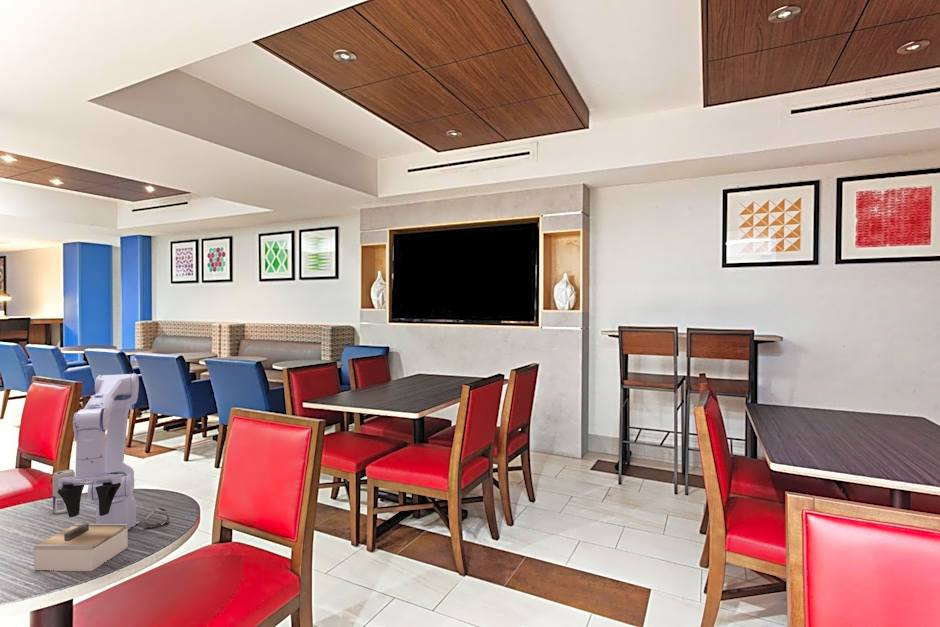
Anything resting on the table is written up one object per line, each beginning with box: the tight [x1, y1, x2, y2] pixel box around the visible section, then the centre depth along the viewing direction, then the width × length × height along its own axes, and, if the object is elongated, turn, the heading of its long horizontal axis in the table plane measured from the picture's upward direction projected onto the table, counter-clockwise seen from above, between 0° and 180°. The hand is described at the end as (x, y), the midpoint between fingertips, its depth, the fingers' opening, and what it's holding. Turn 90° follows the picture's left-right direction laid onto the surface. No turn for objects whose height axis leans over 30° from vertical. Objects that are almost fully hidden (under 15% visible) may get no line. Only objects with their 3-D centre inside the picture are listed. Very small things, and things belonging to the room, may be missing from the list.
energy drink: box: [52, 469, 76, 515], centre depth 155 cm, size 5×5×12 cm
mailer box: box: [33, 523, 129, 572], centre depth 125 cm, size 12×14×6 cm
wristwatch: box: [143, 507, 170, 529], centre depth 144 cm, size 4×6×5 cm, turn 133°
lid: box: [36, 523, 125, 547], centre depth 125 cm, size 10×14×2 cm
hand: (89, 515), depth 122 cm, fingers open, 7 cm apart
